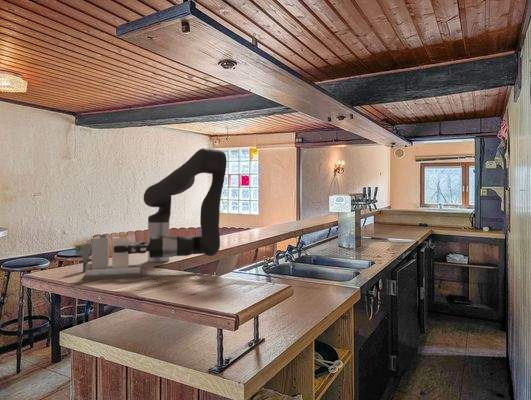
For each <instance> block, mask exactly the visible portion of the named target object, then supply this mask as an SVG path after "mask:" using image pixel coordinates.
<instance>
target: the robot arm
mask: <svg viewBox="0 0 531 400" xmlns="http://www.w3.org/2000/svg"><path fill="white" fill-rule="evenodd" d="M227 161H228V160H227V155H226V153H225V152H224V151H223V150H220V149H215V148H210V147H209V148H208V147H202V148H199V149H198V150H197V151H196V152H194V154H192V156H190V158H189V159H188V160H187V161H185V162H184V163H183V164H182V165H181V166H179V167H178V168H176V169H175V170H173V171H172V172H171V173H170V174H168V175H167V176H165V177H164V178H163V179H161V180H160V181H158V182H157V183H154V184H152V185H150V186H148V187H147V188H146V190H145V191H144V193H143V202H144V204H145V205H146V206H148V207H150V208H158V211H156V212H155V213H153V214H151V215H149V216H148V217H147V242H145V241H142V240H141V241H132V242H129V245H126V246H114V252H115V253H122V252H126V253H129V254H134V255H135V254H142V255H143V254H146V253H147V262H151V263H157V262H158V263H160V262H161V263H163V262H168V261H170V258H173V257H188V256H191V255H206V256H208V257H213V256H215V255H216V254H217V253H218V252H219V251H220V247H221V237H220V235H221V234H220V212H221V211H220V210H221V209H220V208H221V200H222V199H221V198H222V192H223V187H224V183H225V175H226V171H227V163H228V162H227ZM199 174H211V178H212V179H211V184H210V187H209V189H208V191H207V193H206V194H205V197H204V198H203V201H202V203H201V205H200V221H199V222H200V228H201V235H197V236H170V218H171V215H172V214H171V210H172V196H176V195H179V194H182V193H185V192H186V191H187V190H189V189H190V188H191V187H193V185H194V184H195V182H196V181H195V180H196V176H197V175H199Z"/></svg>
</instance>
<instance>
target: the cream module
mask: <svg viewBox="0 0 531 400" xmlns="http://www.w3.org/2000/svg"><path fill="white" fill-rule="evenodd" d="M129 241H130V237H129V236H128V234H126V233H125V234H124V233H122V234H119V236H114V237H112V265H111V266H112V268H129V265H130V264H129V263H130V262H129V256H130V255H129V253H126V252H122V253H115V252H114V246H126V245H129V243H130V242H129Z"/></svg>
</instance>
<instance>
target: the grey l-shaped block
mask: <svg viewBox="0 0 531 400" xmlns="http://www.w3.org/2000/svg"><path fill="white" fill-rule="evenodd" d="M91 243H92V254H91V263H88V264H87V265H86V271H85V273H84V275H83V276H82V277H83V278H82V280H83V281H93V280H94V281H97V280H112V279H111V278H118V279H131V278H130V277H138V278H142V277H143V276H142V275H143V271H142V270H143V269H142V268H141V263H140V264H129V268H112V265H110V237H109V236H107V234H99V237H96V236H95V237H92V238H91ZM126 277H128V278H126Z"/></svg>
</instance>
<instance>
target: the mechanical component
mask: <svg viewBox="0 0 531 400" xmlns="http://www.w3.org/2000/svg"><path fill="white" fill-rule="evenodd" d="M74 250H75V255H76V256H81V260H82V272H86V265H87V264H89V262H88V261H89V259H90V255H92V242H91V243H81V244H77V245H75V247H74Z"/></svg>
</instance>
